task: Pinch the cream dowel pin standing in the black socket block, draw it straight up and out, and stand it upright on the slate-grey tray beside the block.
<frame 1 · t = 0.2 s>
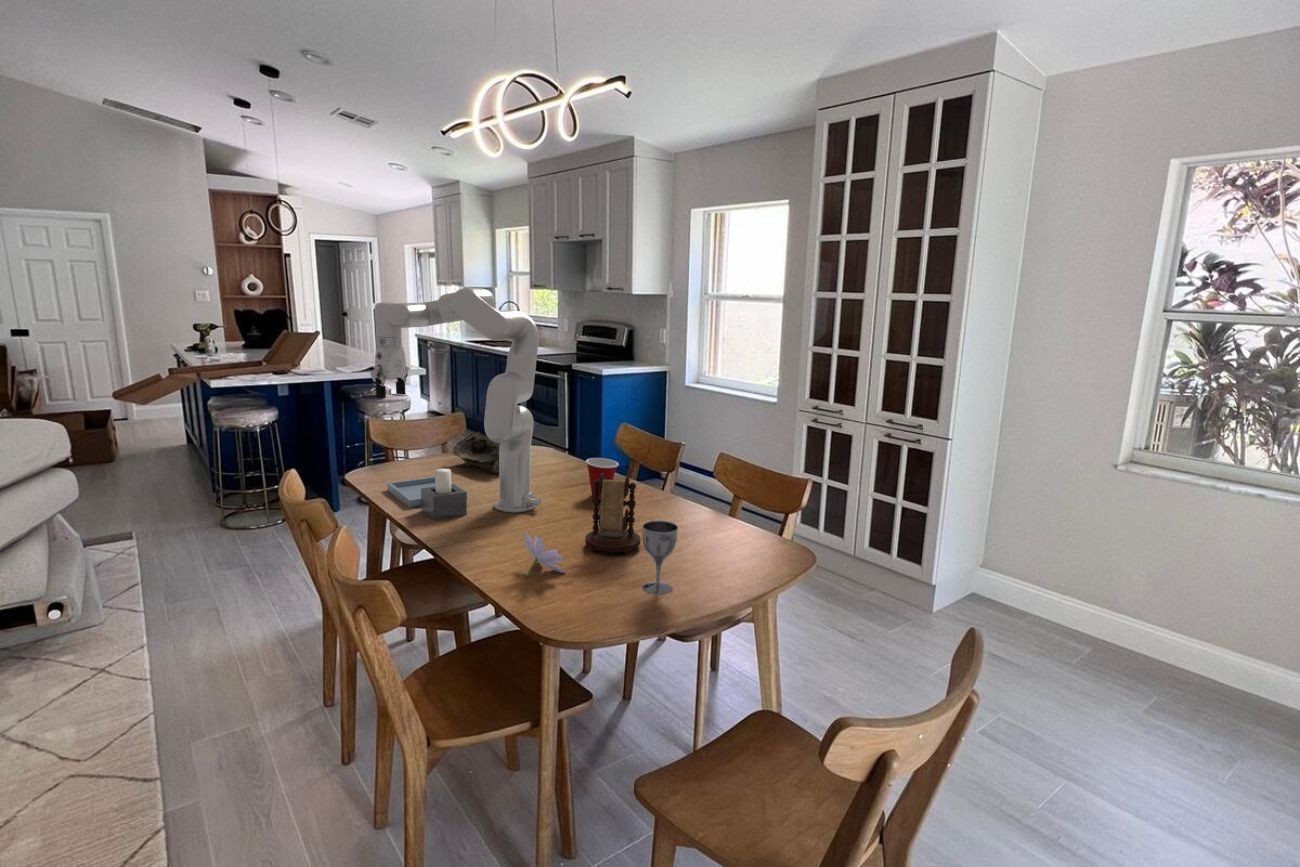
hand: (391, 396, 221), 31 cm above the table, tool pointing down, fingers open, 9 cm apart
socket block: (443, 512, 206), on the table
dowel pin: (443, 509, 206), point 1 cm above the table, touching socket block
hollow geode rock: (483, 470, 255), on the table
water lily: (544, 572, 167), on the table
tray: (426, 494, 222), on the table
scroll: (612, 547, 184), on the table
wine glass: (657, 588, 160), on the table
plastic cup: (601, 496, 229), on the table
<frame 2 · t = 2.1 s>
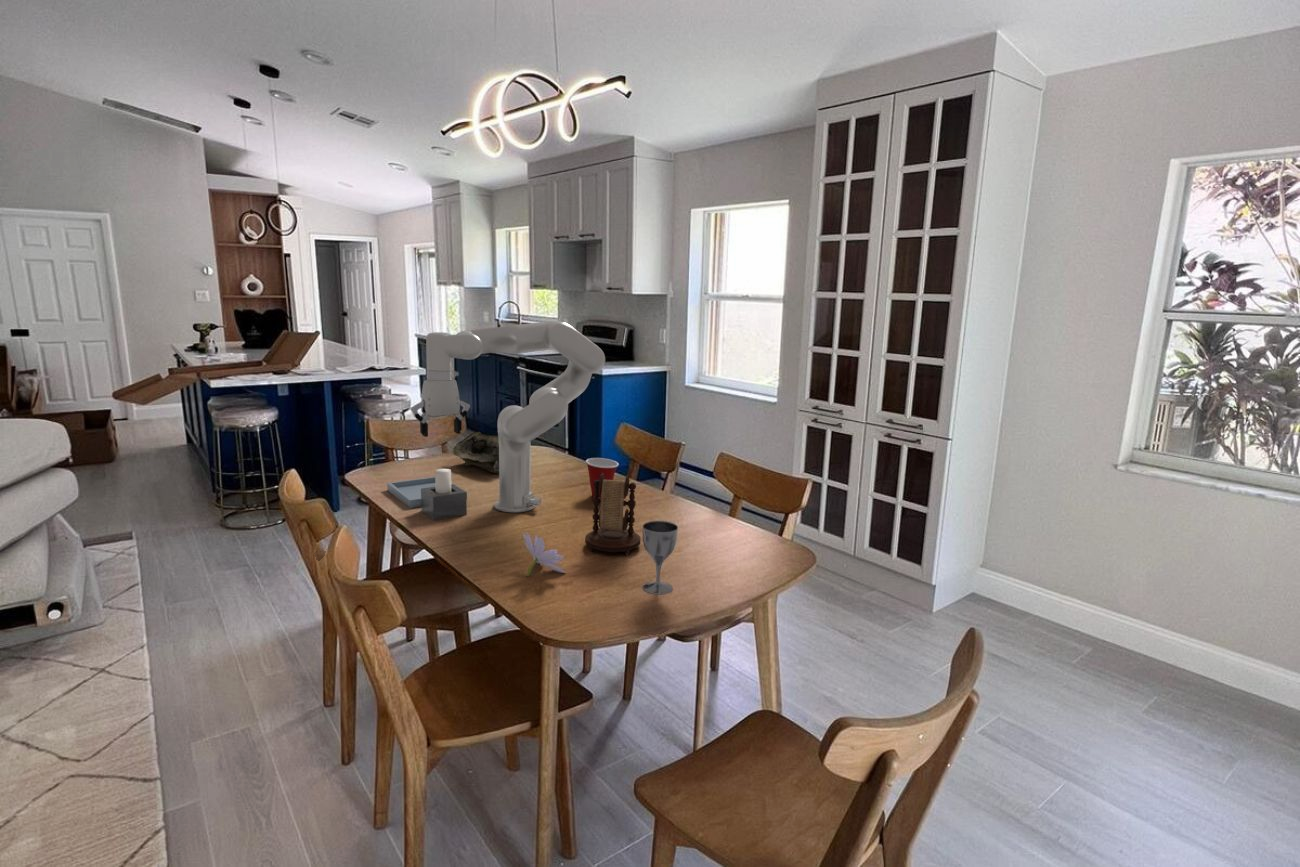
hand: (441, 434, 201), 24 cm above the table, tool pointing down, fingers open, 9 cm apart
nothing on the table moved.
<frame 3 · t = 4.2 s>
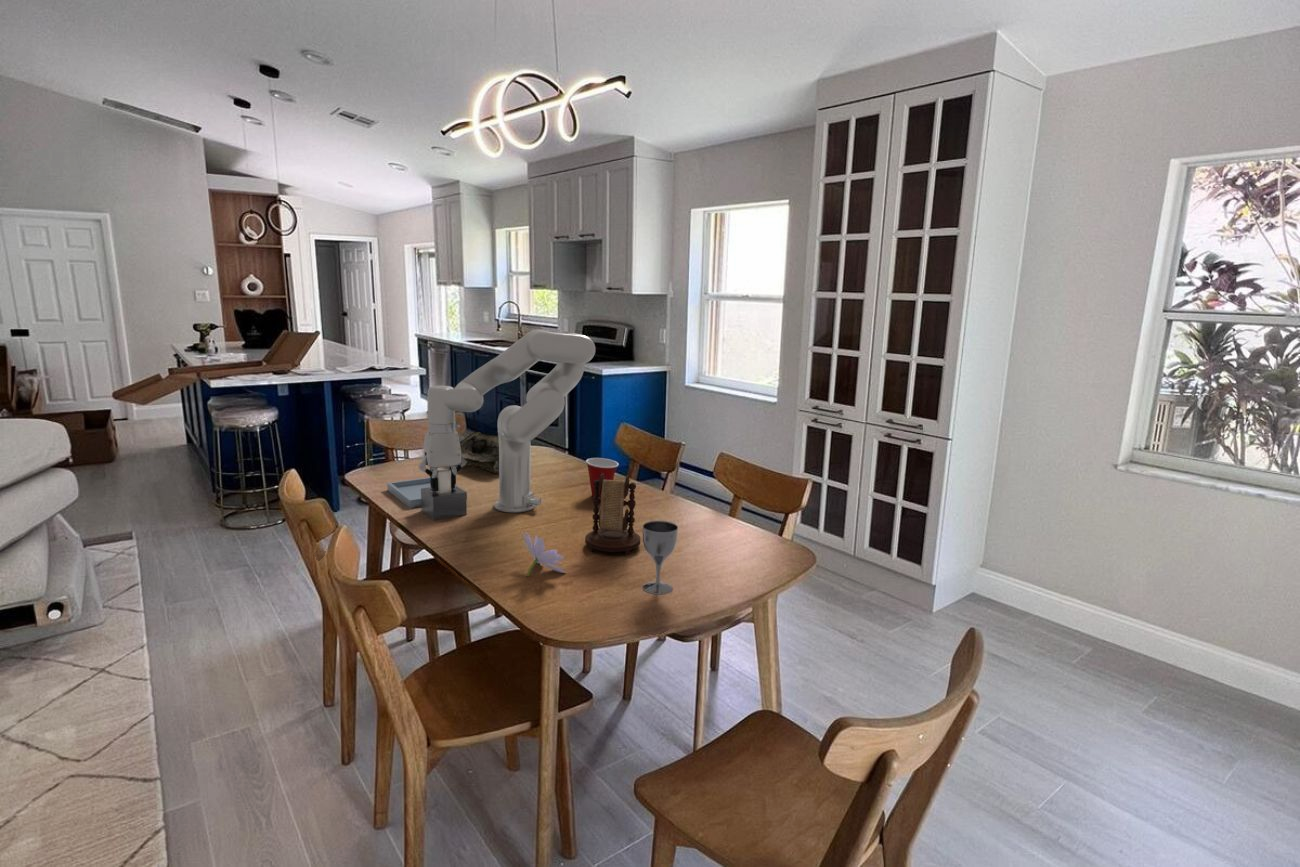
hand: (443, 488, 204), 8 cm above the table, tool pointing down, fingers closed on dowel pin, 4 cm apart
dowel pin: (443, 509, 206), point 1 cm above the table, touching gripper, socket block
everything else where it was.
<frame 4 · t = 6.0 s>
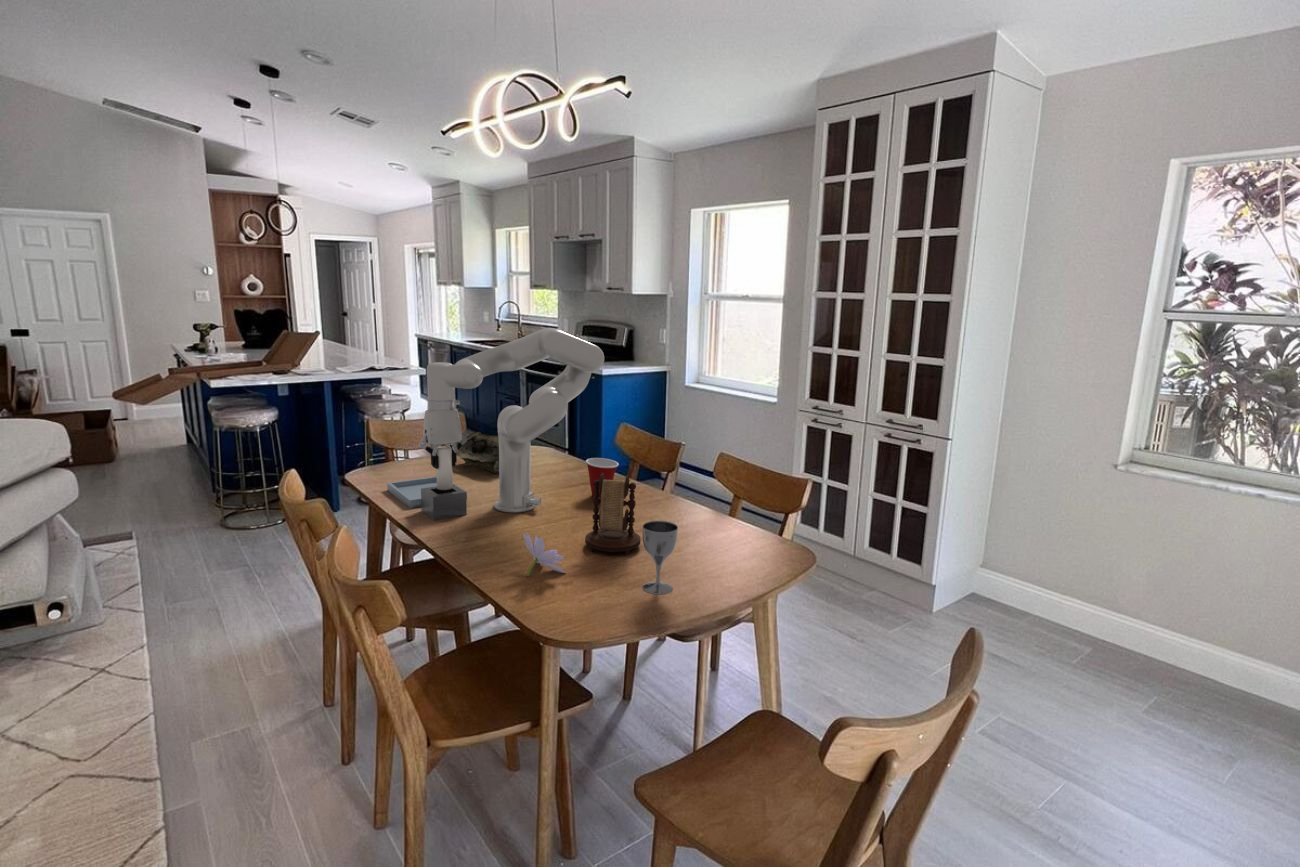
hand: (444, 465, 203), 14 cm above the table, tool pointing down, fingers closed on dowel pin, 4 cm apart
dowel pin: (444, 487, 204), point 8 cm above the table, touching gripper
everything else where it was.
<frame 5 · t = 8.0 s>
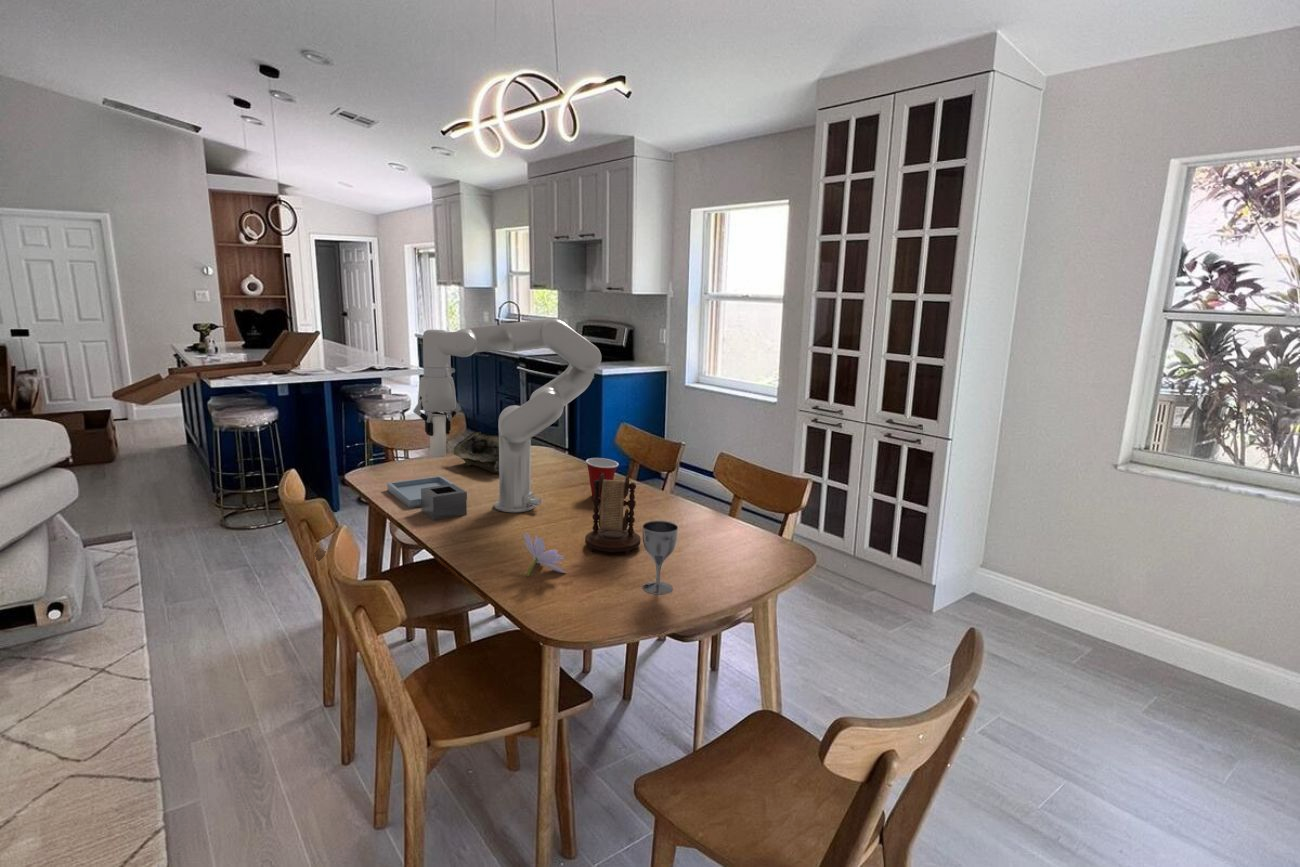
hand: (438, 433, 204), 23 cm above the table, tool pointing down, fingers closed on dowel pin, 4 cm apart
dowel pin: (438, 455, 205), point 17 cm above the table, touching gripper
everything else where it was.
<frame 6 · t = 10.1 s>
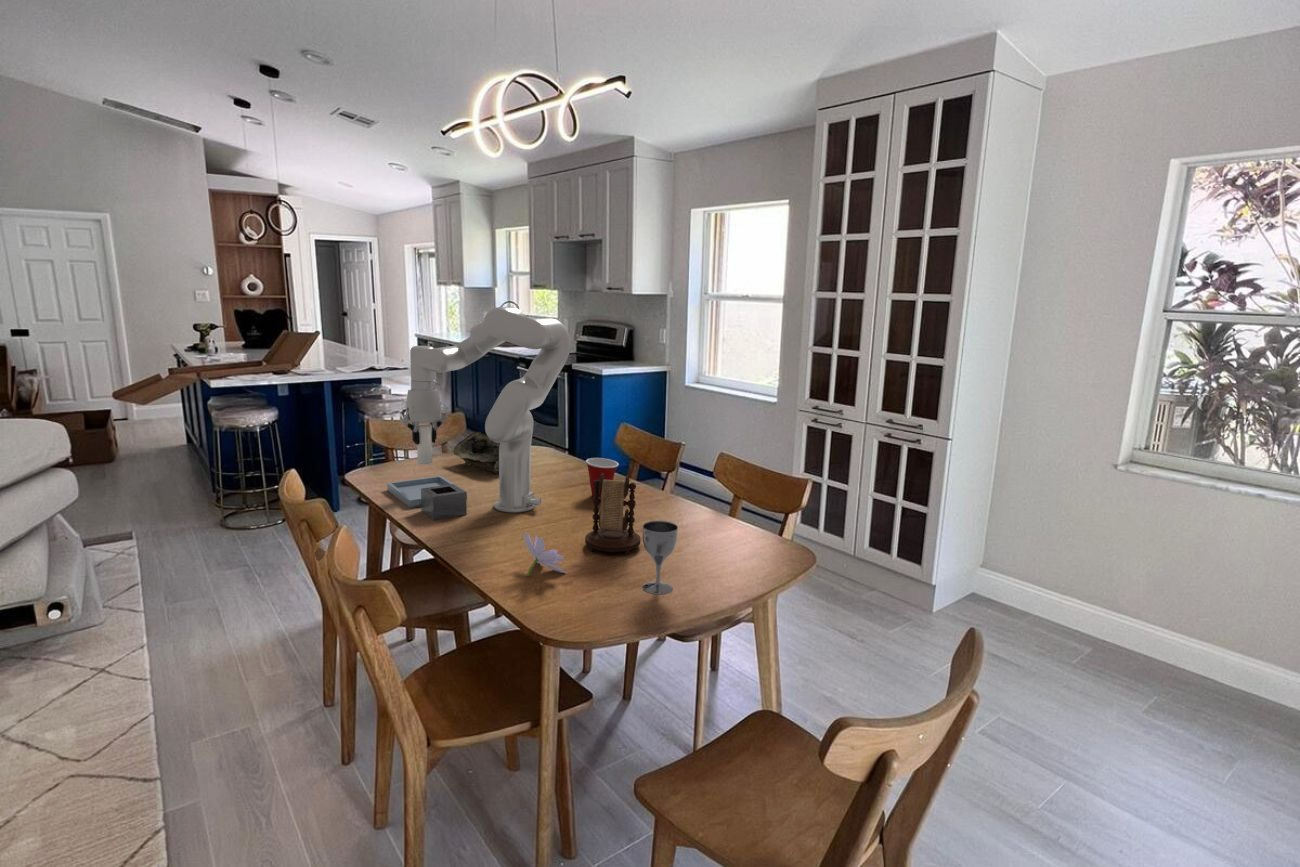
hand: (424, 442, 219), 17 cm above the table, tool pointing down, fingers closed on dowel pin, 4 cm apart
dowel pin: (424, 462, 220), point 11 cm above the table, touching gripper
everything else where it was.
when the fingers open (9 cm above the table, at t = 11.9 s): dowel pin drops 1 cm, resting on tray.
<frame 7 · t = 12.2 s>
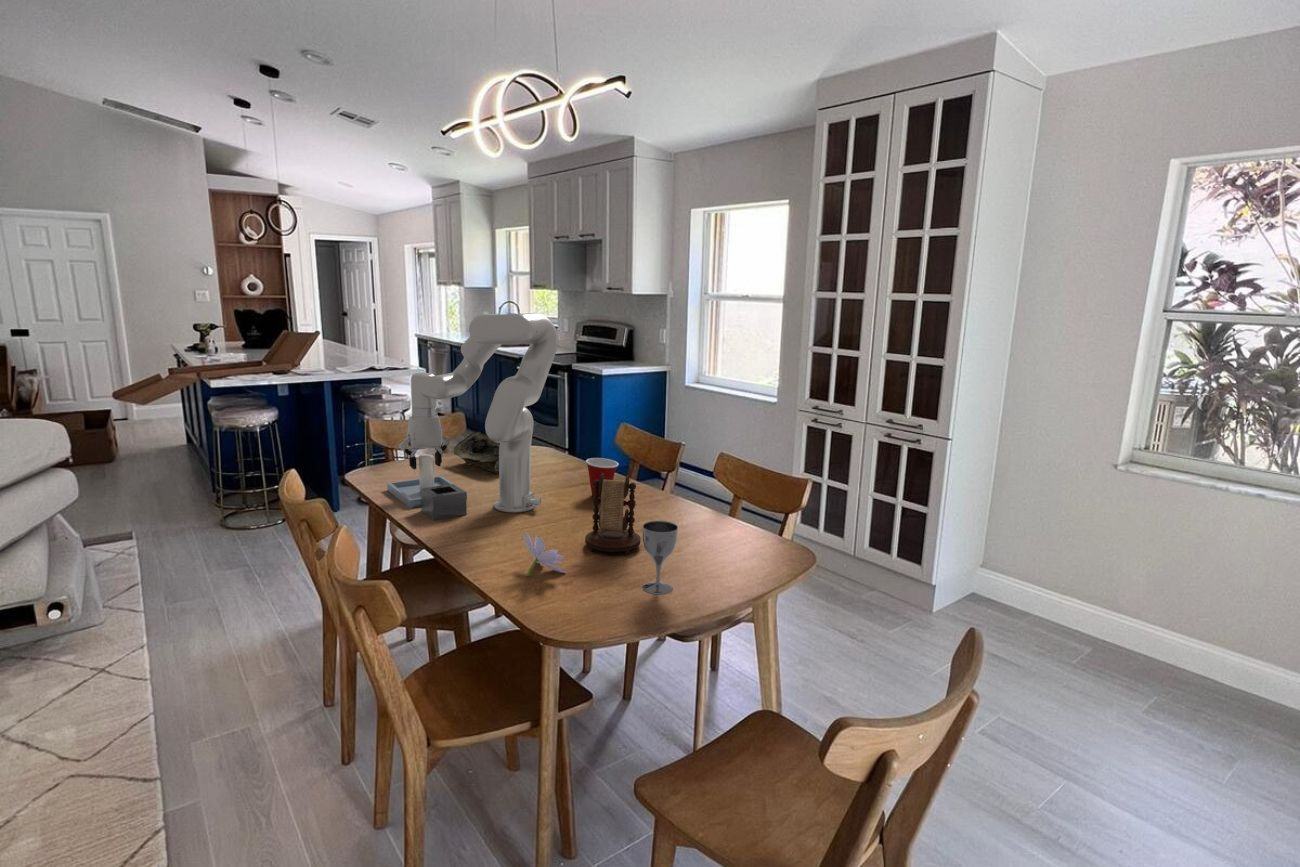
hand: (425, 466, 221), 9 cm above the table, tool pointing down, fingers open, 7 cm apart
dowel pin: (426, 492, 222), point 1 cm above the table, touching tray
everything else where it was.
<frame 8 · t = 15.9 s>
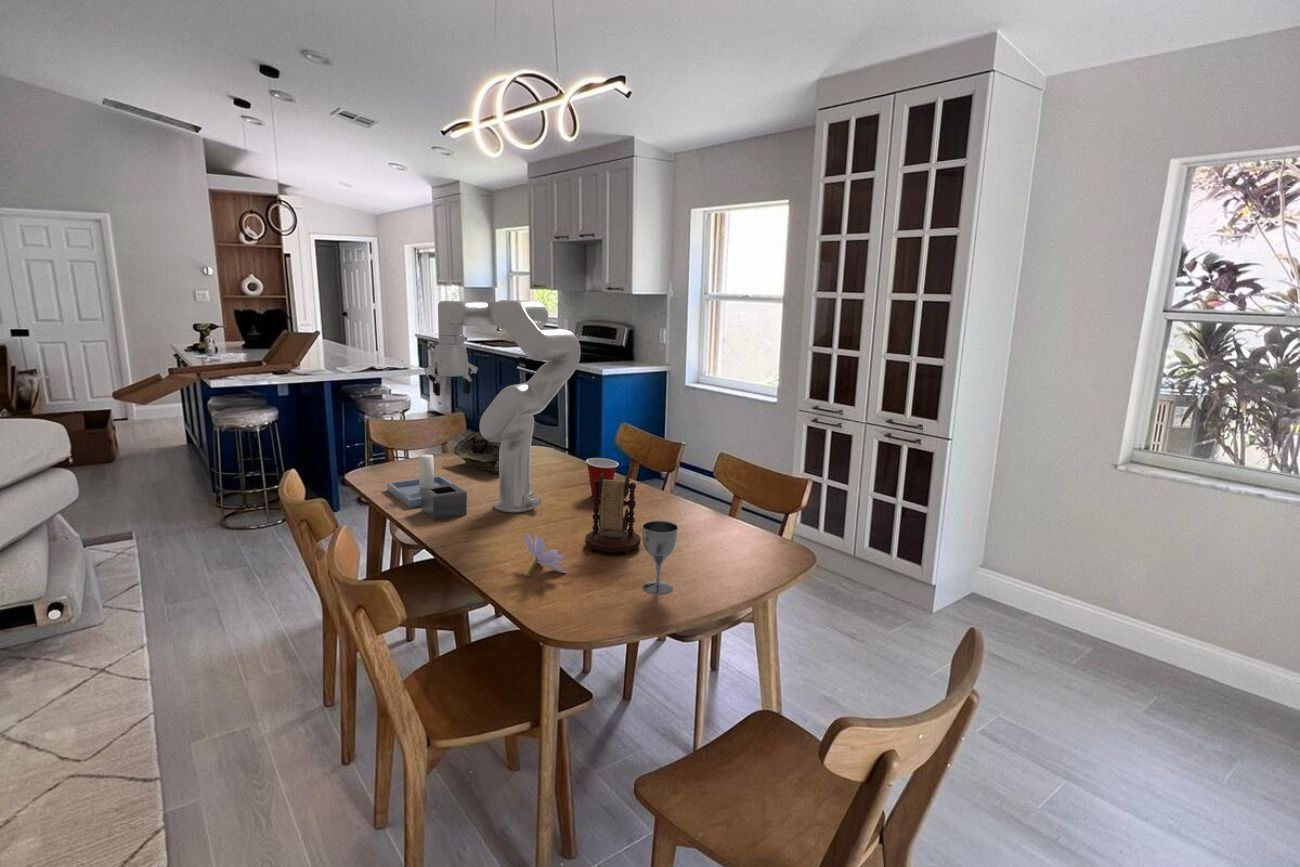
hand: (452, 394, 221), 32 cm above the table, tool pointing down, fingers open, 9 cm apart
nothing on the table moved.
at the end: dowel pin inside the target area on the tray (0.1 cm from its centre), point 0.8 cm above the tray's base; dowel pin tilted 0°; the gripper is holding nothing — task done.
